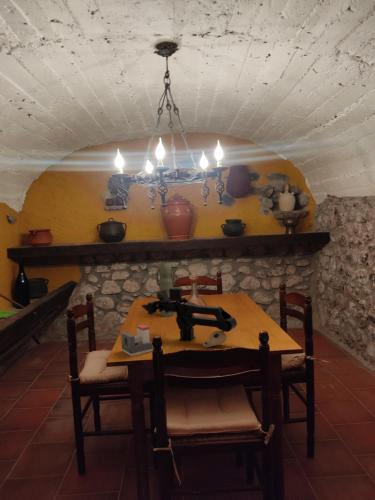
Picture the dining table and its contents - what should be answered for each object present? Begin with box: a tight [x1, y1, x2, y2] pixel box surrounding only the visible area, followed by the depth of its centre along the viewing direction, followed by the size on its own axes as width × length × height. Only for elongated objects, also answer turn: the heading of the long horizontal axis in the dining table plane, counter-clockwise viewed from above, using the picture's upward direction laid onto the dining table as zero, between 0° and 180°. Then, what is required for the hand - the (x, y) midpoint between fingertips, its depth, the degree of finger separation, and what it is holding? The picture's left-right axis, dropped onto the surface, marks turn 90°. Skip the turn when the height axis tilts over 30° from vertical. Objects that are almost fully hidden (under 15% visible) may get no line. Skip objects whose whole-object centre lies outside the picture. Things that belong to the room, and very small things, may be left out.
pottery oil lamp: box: [202, 330, 228, 348], centre depth 204 cm, size 9×12×7 cm
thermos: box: [156, 261, 176, 318], centre depth 271 cm, size 9×12×35 cm
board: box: [121, 348, 153, 357], centre depth 202 cm, size 14×10×1 cm
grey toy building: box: [121, 331, 153, 354], centre depth 201 cm, size 14×10×8 cm
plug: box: [134, 324, 151, 345], centre depth 201 cm, size 9×6×10 cm, turn 124°
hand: (147, 304), depth 229 cm, fingers open, 9 cm apart
